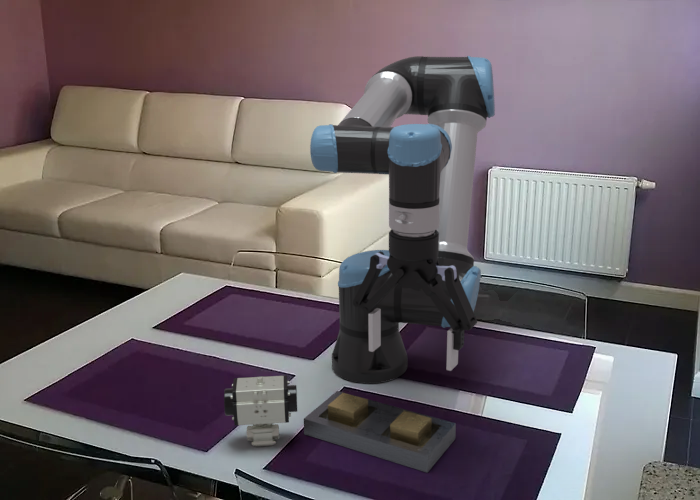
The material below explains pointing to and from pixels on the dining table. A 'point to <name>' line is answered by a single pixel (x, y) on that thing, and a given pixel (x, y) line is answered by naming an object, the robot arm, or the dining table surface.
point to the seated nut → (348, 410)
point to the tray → (381, 435)
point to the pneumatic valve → (261, 406)
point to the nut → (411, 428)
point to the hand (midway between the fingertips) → (412, 357)
